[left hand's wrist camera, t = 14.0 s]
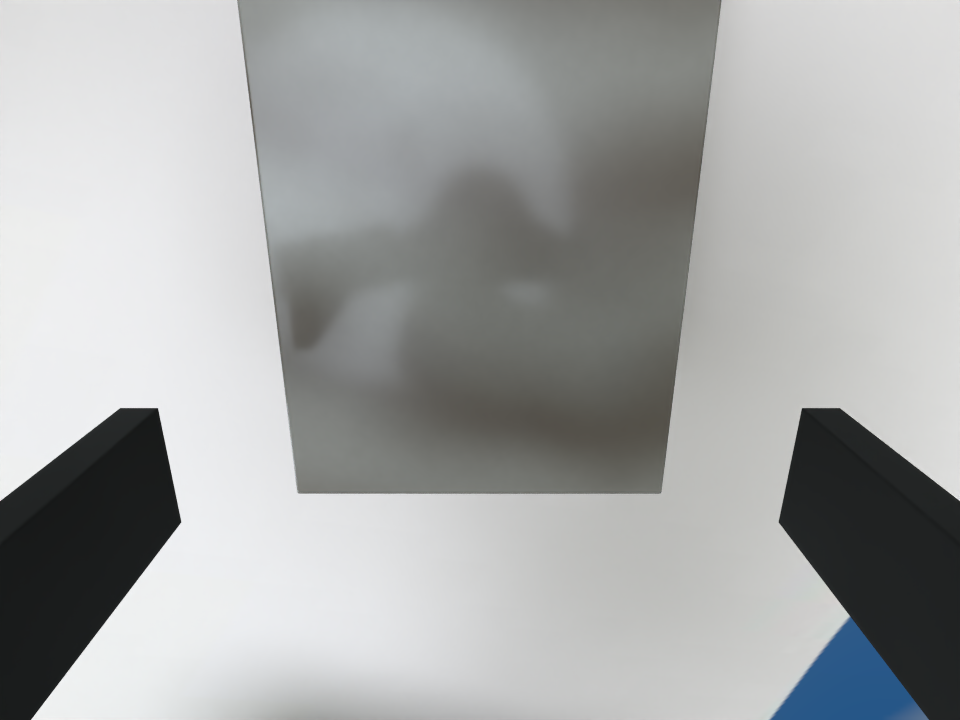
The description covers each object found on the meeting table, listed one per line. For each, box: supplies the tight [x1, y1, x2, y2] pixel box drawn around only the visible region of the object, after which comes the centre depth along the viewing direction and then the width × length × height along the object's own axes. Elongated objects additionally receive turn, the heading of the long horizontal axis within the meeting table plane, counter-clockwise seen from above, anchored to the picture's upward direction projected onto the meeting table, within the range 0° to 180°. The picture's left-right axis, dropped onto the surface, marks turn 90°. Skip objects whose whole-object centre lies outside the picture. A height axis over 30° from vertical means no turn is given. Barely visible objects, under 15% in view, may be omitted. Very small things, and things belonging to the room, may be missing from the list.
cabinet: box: [237, 0, 721, 494], centre depth 21 cm, size 20×12×12 cm, turn 0°
